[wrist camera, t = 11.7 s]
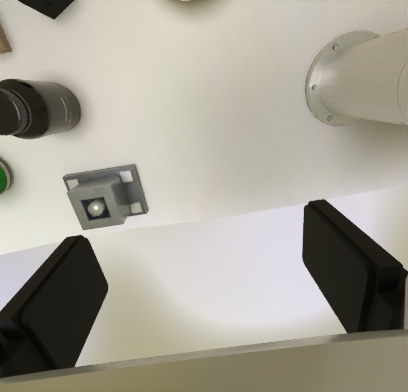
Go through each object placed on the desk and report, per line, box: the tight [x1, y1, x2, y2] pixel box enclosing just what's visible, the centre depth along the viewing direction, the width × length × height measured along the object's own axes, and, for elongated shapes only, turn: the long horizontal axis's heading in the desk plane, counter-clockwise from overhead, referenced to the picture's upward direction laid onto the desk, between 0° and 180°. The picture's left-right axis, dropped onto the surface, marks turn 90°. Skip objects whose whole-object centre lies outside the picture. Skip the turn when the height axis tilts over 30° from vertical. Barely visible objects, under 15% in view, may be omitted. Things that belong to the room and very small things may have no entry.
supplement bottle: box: [0, 79, 80, 139], centre depth 29 cm, size 7×7×12 cm
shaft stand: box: [62, 164, 148, 216], centre depth 38 cm, size 12×9×6 cm
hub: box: [67, 175, 131, 230], centre depth 38 cm, size 7×7×5 cm
